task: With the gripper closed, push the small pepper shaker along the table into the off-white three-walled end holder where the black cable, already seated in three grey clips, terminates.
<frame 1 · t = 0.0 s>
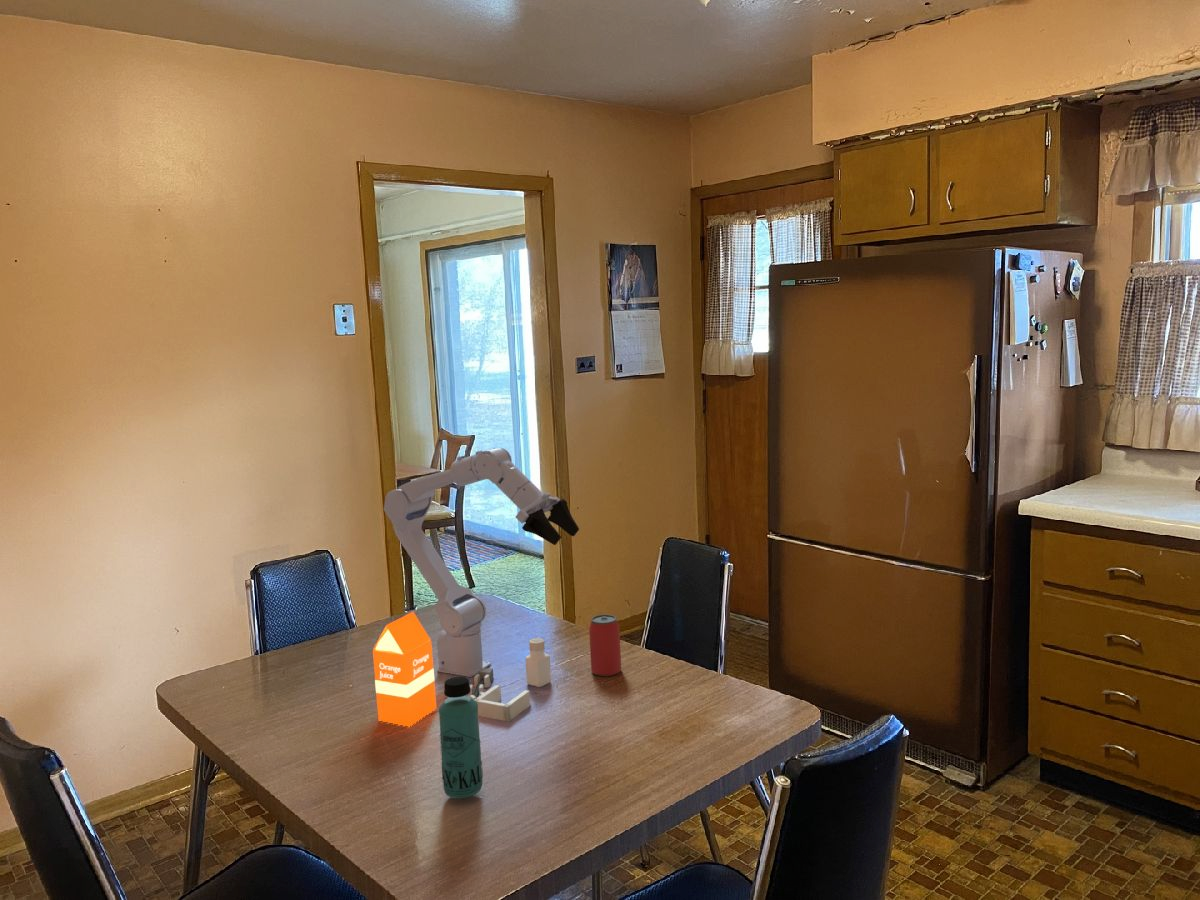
hand: (567, 537, 179), 32 cm above the table, tool tilted 50°, fingers open, 7 cm apart
pepper shaker: (539, 684, 186), on the table
clips: (479, 690, 181), on the table
beverage bottle: (464, 798, 142), on the table
beer can: (606, 672, 191), on the table
end holder: (502, 709, 174), on the table
cable route: (482, 687, 182), on the table
orange juice: (407, 716, 173), on the table
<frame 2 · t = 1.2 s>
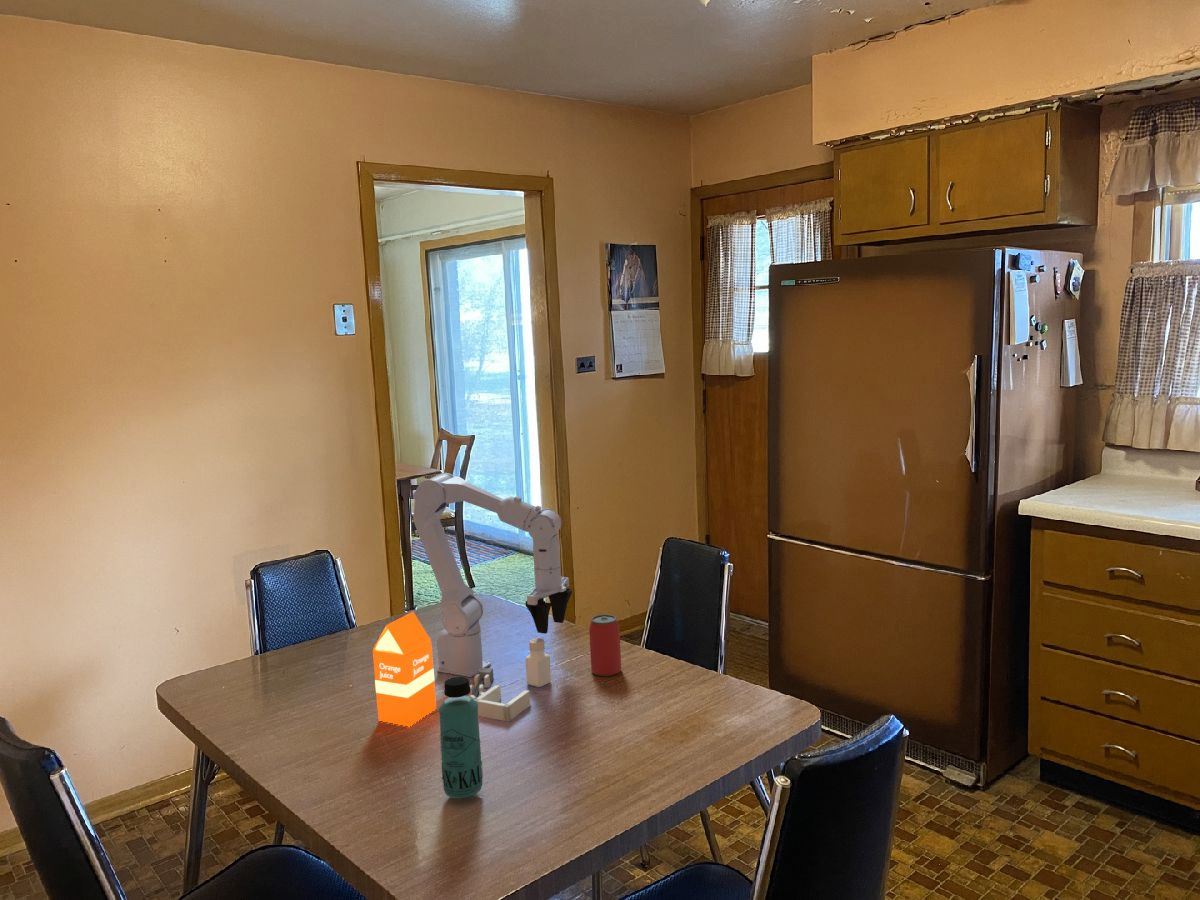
hand: (550, 627, 190), 10 cm above the table, tool pointing down, fingers open, 6 cm apart
nothing on the table moved.
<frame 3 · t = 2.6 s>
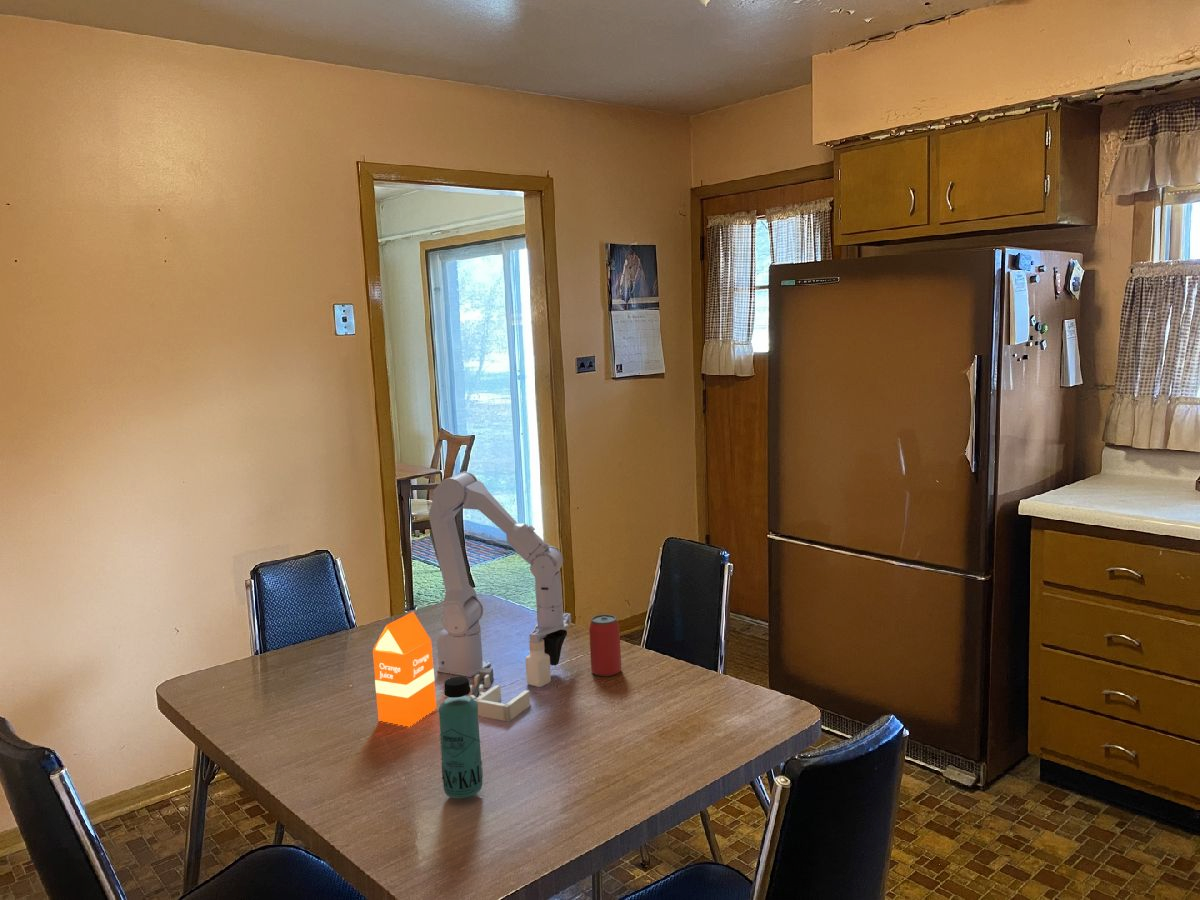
hand: (553, 663, 191), 2 cm above the table, tool pointing down, fingers closed
nothing on the table moved.
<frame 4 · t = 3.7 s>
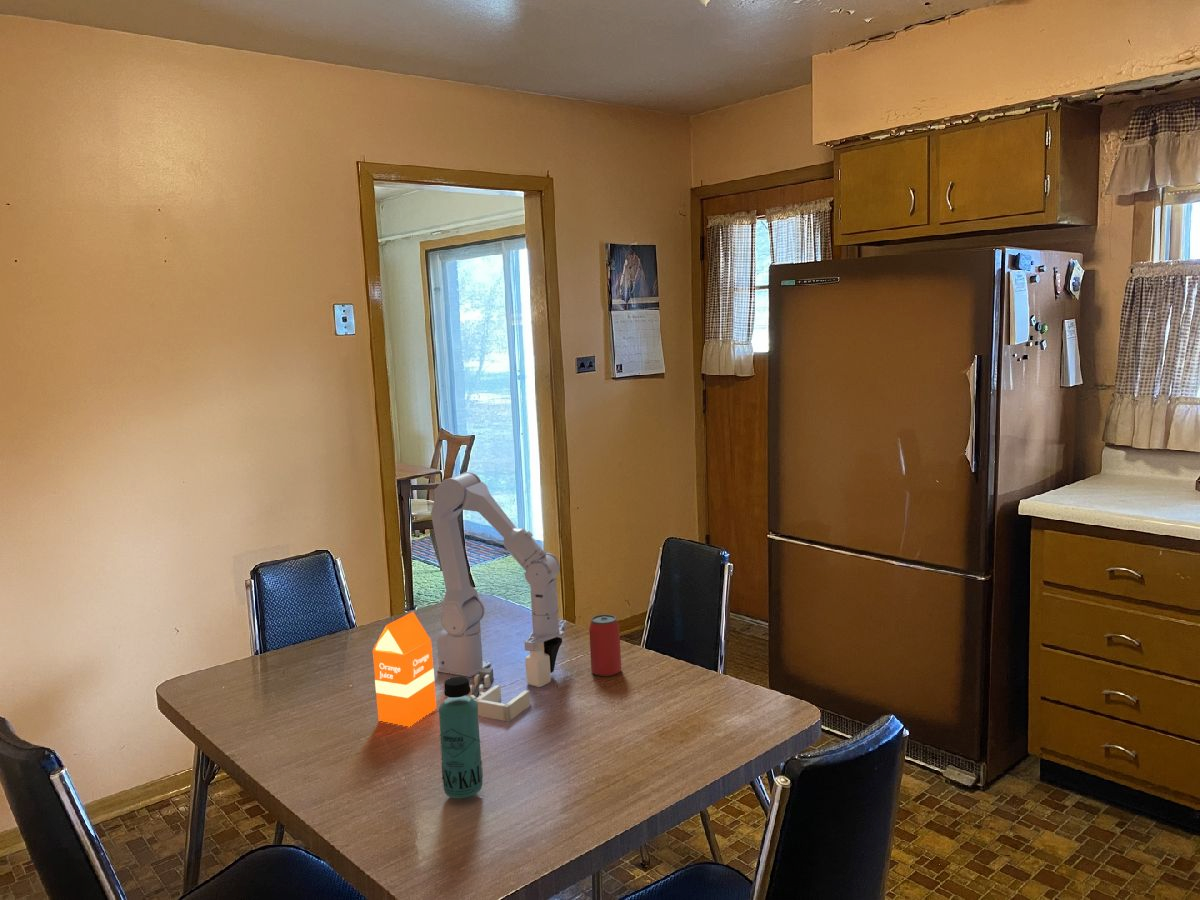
hand: (548, 671, 189), 1 cm above the table, tool pointing down, fingers closed
pepper shaker: (539, 684, 186), on the table, touching gripper
everything else where it was.
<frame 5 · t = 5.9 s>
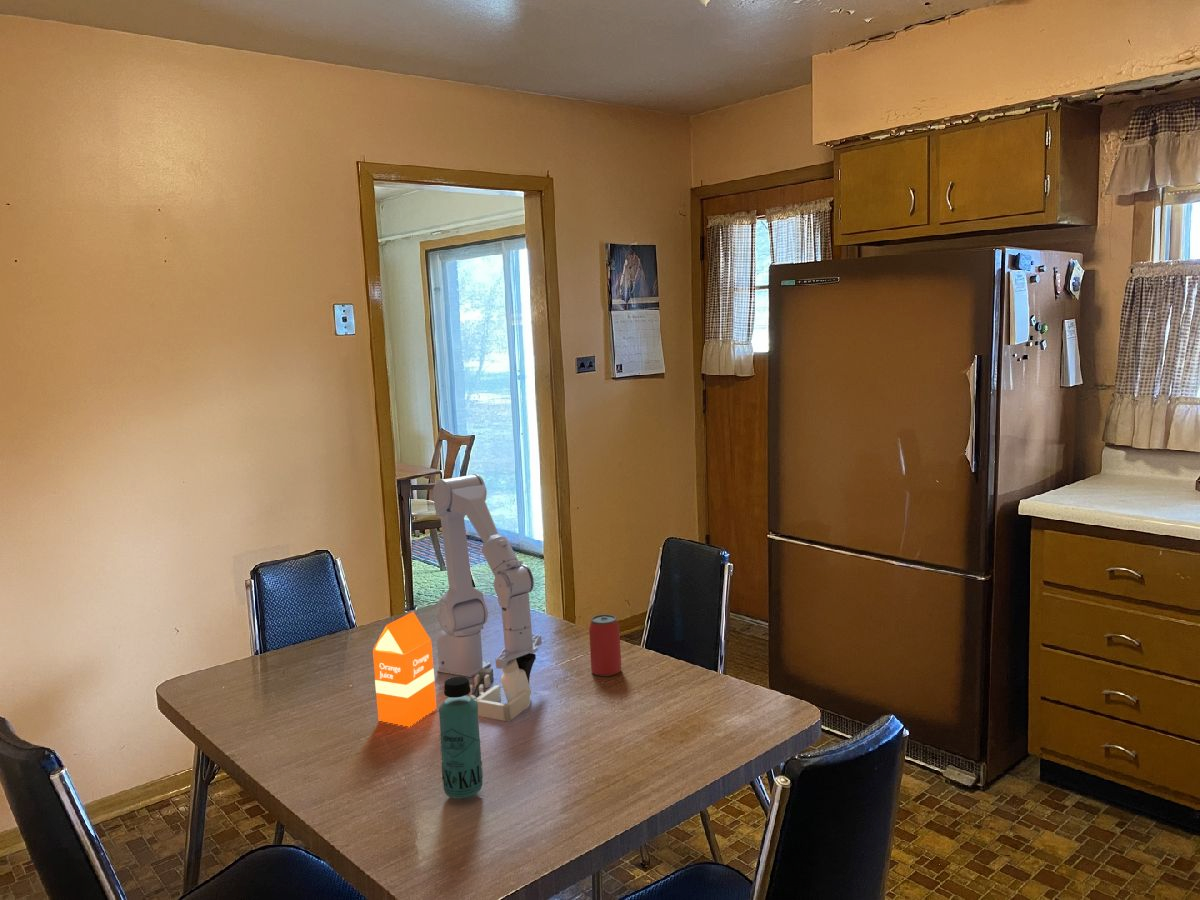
hand: (522, 689, 179), 2 cm above the table, tool pointing down, fingers closed, pressing on pepper shaker
pepper shaker: (520, 699, 178), on the table, touching gripper
everything else where it was.
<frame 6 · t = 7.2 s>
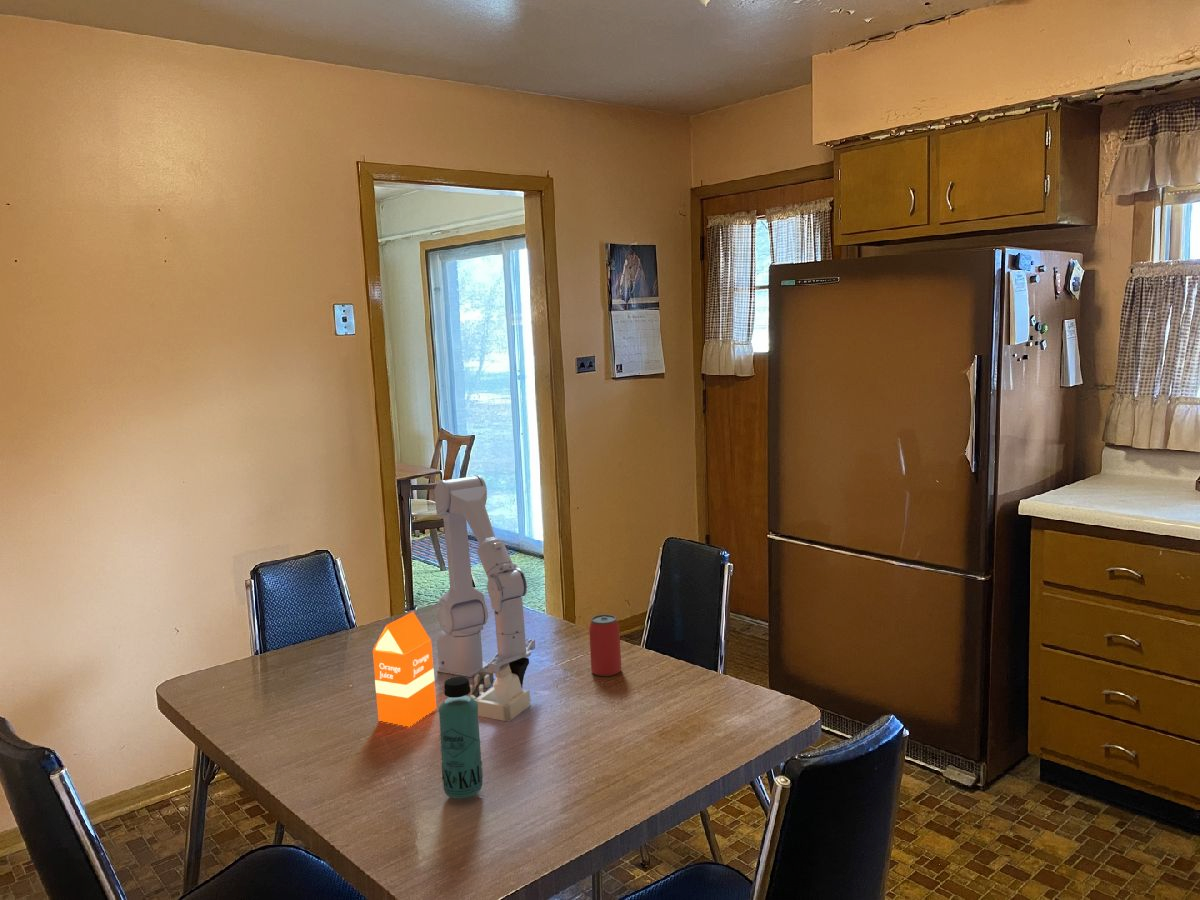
hand: (515, 694, 177), 2 cm above the table, tool pointing down, fingers closed, pressing on pepper shaker
pepper shaker: (513, 704, 176), on the table, touching gripper
everything else where it was.
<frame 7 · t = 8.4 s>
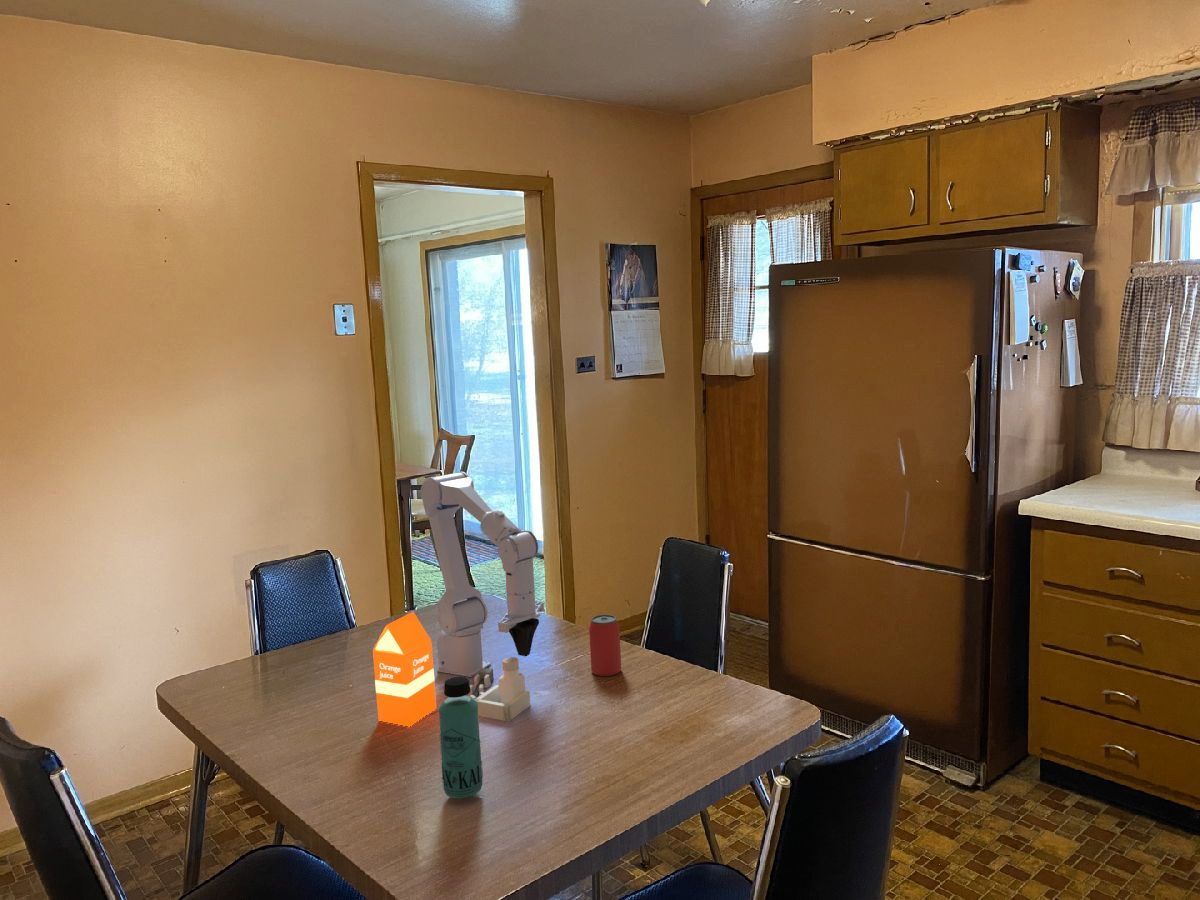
hand: (524, 654, 181), 8 cm above the table, tool pointing down, fingers closed
pepper shaker: (513, 706, 176), on the table
everything else where it was.
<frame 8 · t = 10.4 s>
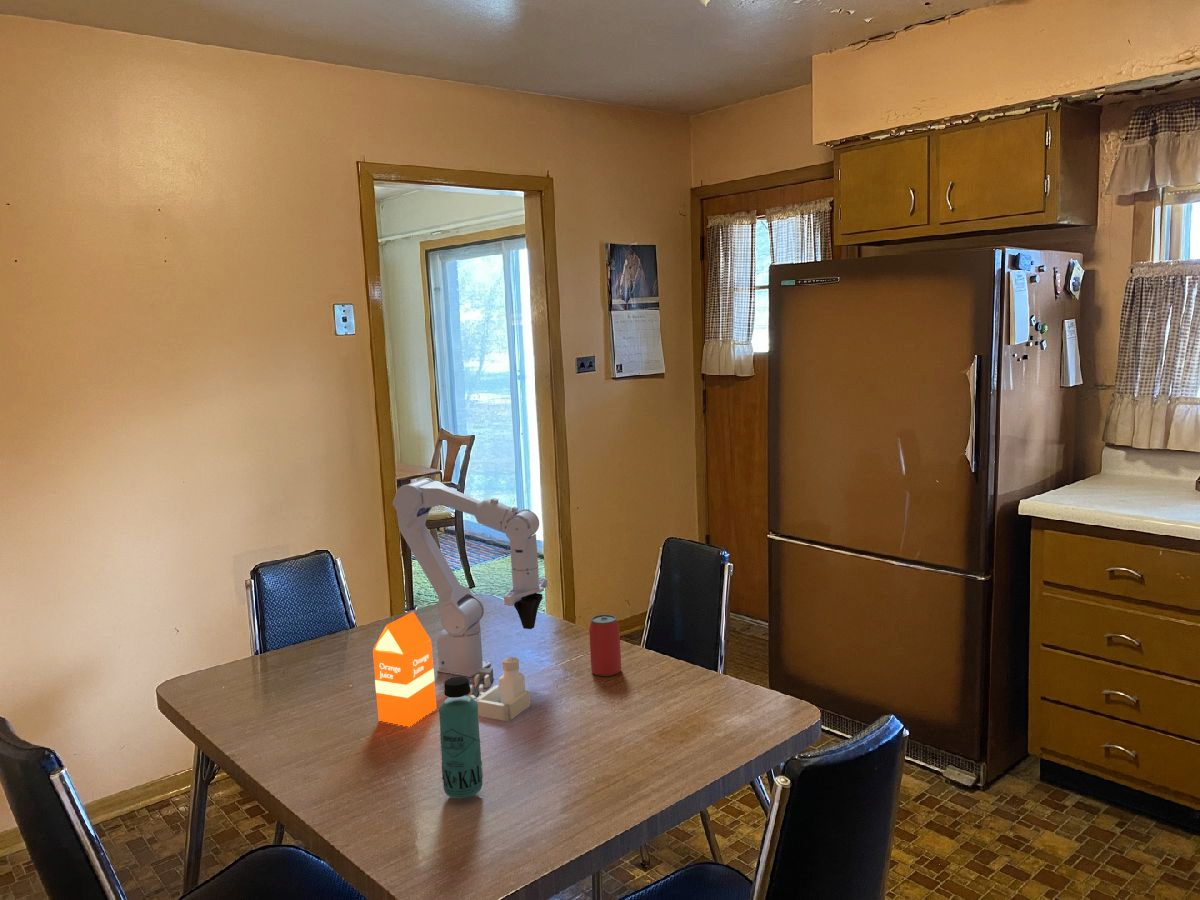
hand: (528, 627, 190), 10 cm above the table, tool pointing down, fingers closed
nothing on the table moved.
at the end: pepper shaker 2.1 cm off-centre on the end holder, point 0.0 cm above the end holder's base; pepper shaker tilted 0° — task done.
